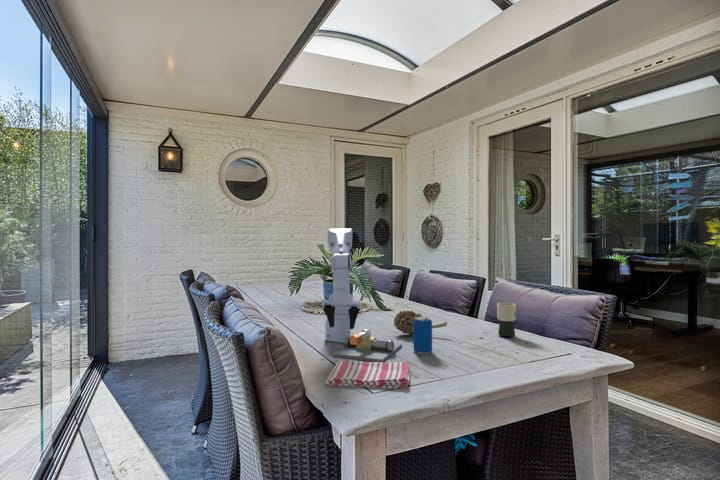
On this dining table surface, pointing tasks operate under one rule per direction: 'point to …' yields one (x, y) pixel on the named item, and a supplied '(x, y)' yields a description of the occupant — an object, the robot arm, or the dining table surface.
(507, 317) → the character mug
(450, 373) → the dining table surface
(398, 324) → the pine cone
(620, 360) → the dining table surface
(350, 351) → the base board
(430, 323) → the beverage can
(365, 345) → the valve pipe
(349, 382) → the dish towel
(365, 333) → the valve lever
